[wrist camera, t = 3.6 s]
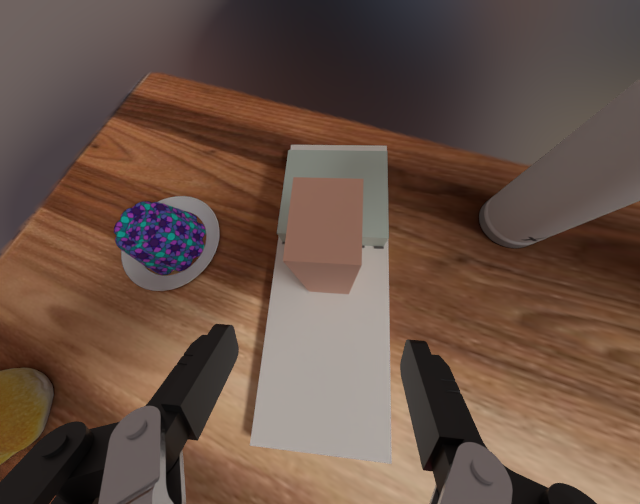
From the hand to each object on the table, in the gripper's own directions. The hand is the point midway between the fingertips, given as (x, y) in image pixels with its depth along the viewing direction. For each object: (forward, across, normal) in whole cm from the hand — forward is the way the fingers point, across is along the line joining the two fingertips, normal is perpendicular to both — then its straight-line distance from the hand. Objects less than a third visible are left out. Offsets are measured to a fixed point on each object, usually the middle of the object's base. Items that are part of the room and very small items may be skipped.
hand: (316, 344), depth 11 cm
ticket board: (+14, 0, +5) cm, 15 cm away
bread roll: (+2, +31, +17) cm, 36 cm away
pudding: (+16, +19, +3) cm, 25 cm away
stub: (+13, 0, +4) cm, 13 cm away
